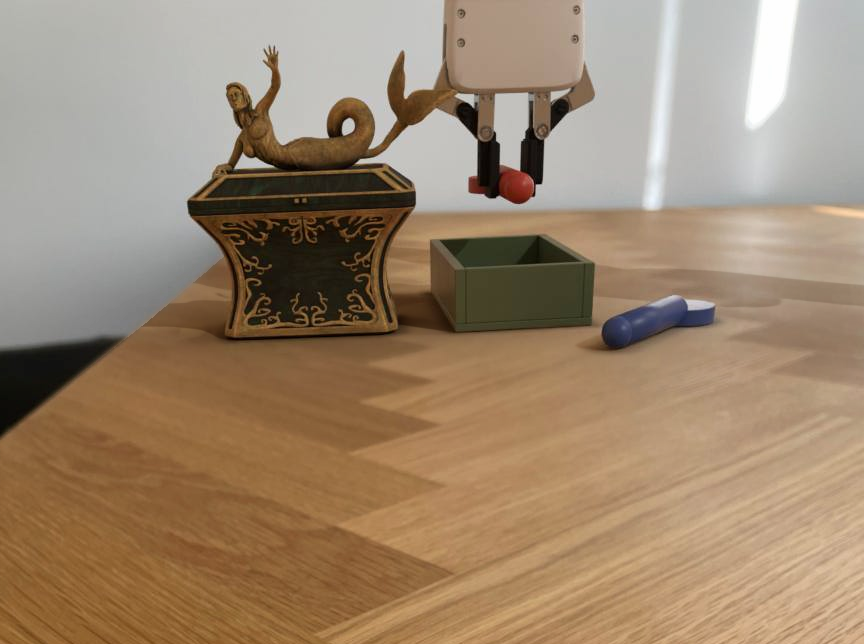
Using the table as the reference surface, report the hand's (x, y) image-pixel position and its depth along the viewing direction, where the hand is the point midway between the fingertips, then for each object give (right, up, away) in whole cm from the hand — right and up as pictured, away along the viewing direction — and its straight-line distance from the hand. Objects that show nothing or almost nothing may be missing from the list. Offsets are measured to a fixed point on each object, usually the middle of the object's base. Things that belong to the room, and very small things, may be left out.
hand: (509, 194), depth 82 cm
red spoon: (0, +1, +2) cm, 2 cm away
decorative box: (-14, -10, +2) cm, 17 cm away
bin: (0, -7, +7) cm, 10 cm away
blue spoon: (+11, -12, -4) cm, 16 cm away
